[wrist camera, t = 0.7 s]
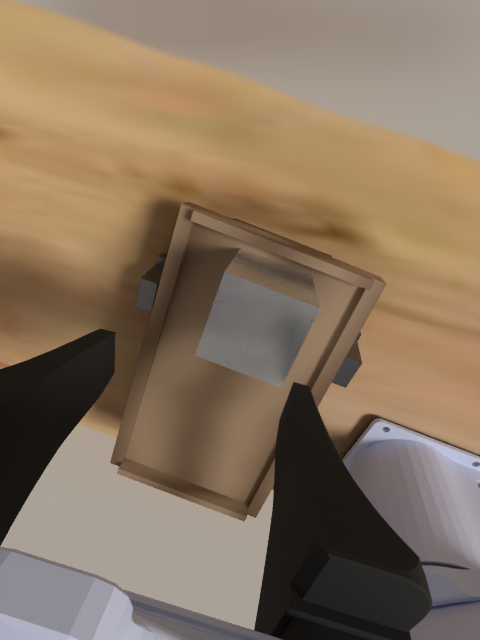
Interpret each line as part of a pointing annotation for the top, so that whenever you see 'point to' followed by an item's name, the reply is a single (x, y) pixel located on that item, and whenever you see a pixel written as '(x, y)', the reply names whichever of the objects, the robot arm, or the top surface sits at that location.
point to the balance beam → (226, 369)
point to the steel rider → (259, 318)
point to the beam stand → (153, 276)
